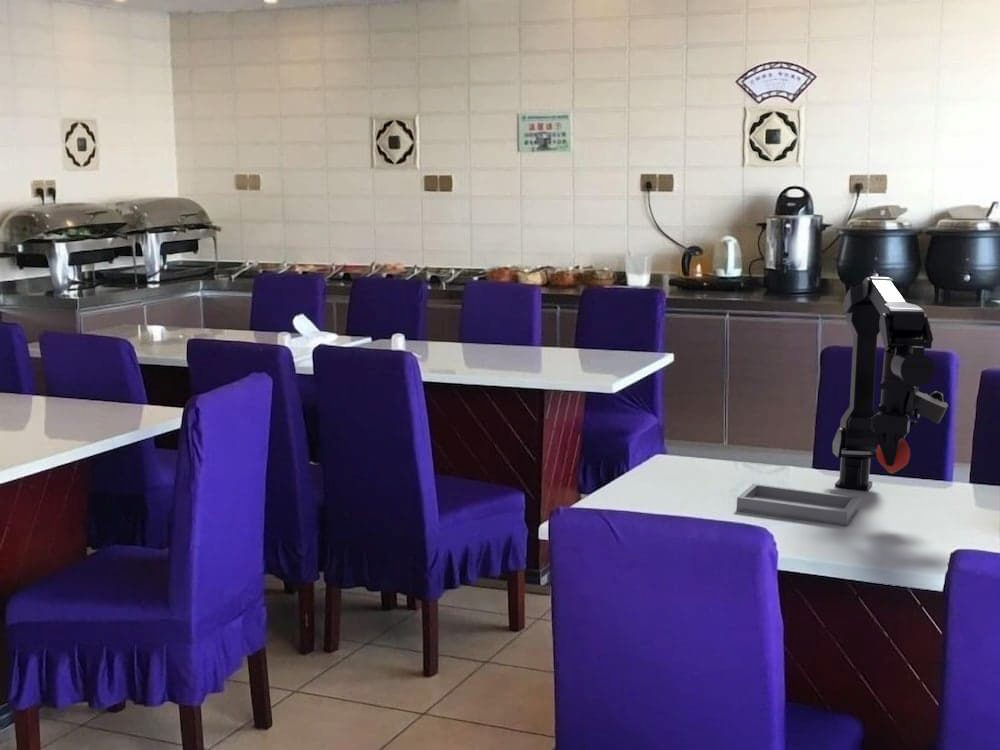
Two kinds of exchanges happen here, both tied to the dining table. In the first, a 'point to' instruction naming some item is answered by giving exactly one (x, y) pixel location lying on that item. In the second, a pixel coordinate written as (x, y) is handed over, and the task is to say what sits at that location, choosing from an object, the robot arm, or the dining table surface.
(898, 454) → the onion
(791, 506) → the tray
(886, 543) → the dining table surface
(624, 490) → the dining table surface
